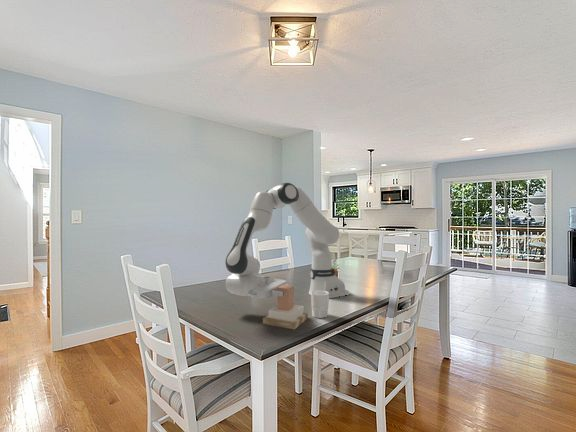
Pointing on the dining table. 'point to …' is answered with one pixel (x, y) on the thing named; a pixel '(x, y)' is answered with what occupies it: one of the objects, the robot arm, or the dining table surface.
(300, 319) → the oak slab
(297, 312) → the cream slab
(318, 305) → the white cup
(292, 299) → the terracotta pillar
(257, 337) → the dining table surface
